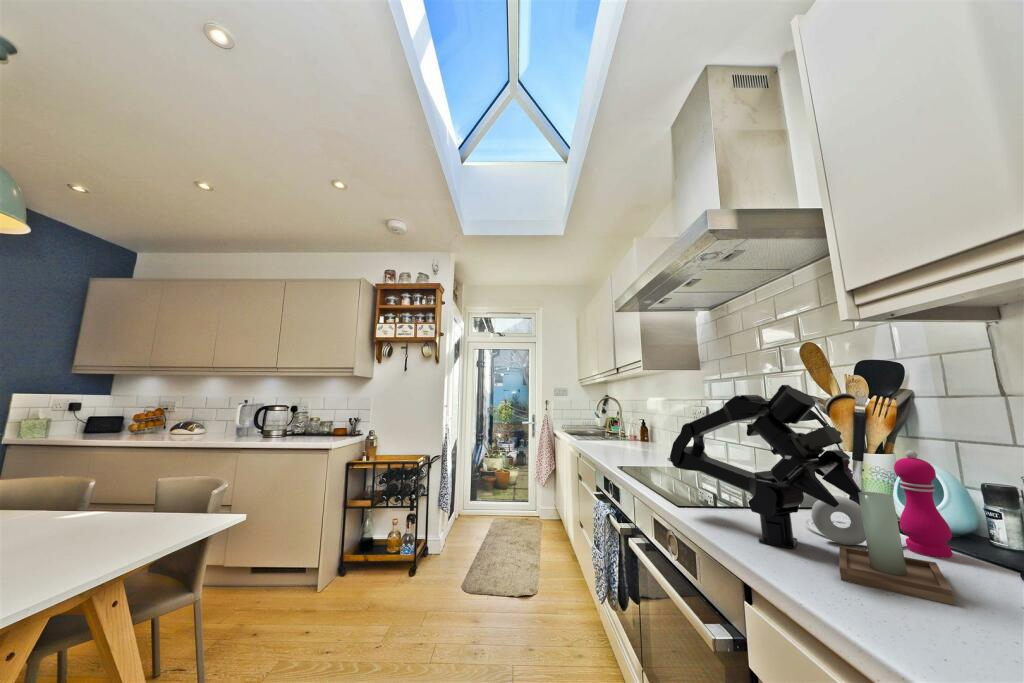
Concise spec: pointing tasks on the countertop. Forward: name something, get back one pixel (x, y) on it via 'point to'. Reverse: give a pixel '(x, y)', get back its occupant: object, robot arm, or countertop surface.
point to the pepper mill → (921, 509)
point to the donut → (831, 531)
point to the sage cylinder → (882, 533)
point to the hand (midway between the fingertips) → (850, 502)
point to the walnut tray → (896, 576)
